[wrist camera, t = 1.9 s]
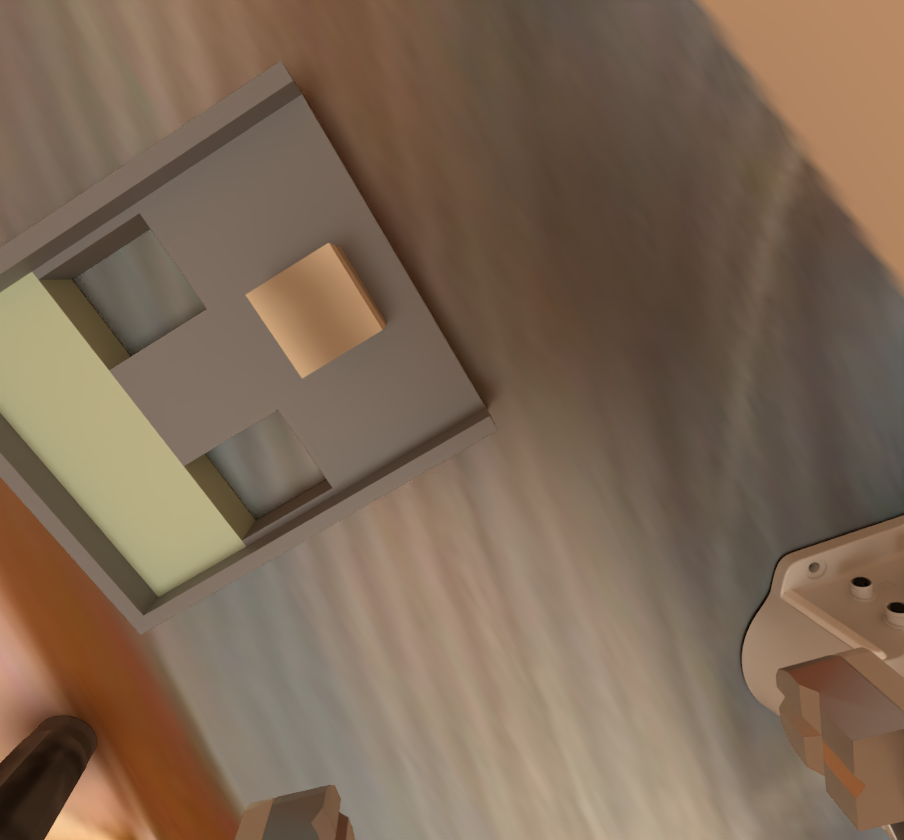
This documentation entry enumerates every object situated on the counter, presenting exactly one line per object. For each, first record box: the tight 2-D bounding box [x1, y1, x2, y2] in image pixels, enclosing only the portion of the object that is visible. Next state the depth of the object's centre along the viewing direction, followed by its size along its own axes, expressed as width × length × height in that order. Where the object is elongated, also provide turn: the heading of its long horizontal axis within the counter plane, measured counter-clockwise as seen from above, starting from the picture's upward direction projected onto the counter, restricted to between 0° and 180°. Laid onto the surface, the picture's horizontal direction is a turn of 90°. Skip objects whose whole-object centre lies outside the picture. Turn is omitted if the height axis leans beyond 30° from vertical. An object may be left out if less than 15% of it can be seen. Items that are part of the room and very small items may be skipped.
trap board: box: [0, 61, 498, 634], centre depth 32 cm, size 26×22×5 cm
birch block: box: [246, 243, 387, 378], centre depth 29 cm, size 5×5×4 cm
